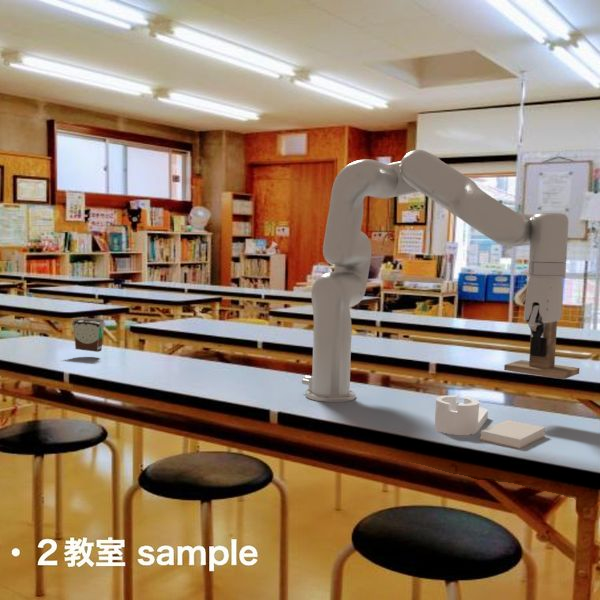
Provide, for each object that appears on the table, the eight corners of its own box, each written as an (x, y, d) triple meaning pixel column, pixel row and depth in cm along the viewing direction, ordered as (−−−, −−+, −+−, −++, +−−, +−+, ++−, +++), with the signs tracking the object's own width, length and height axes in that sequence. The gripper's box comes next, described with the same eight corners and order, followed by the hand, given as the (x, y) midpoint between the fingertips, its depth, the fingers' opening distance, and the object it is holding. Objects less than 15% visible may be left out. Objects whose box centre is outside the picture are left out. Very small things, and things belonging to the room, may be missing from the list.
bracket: (473, 440, 135) (474, 407, 134) (430, 434, 138) (431, 402, 138) (489, 417, 153) (491, 388, 152) (450, 412, 156) (452, 384, 156)
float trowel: (563, 379, 140) (567, 325, 139) (504, 370, 148) (506, 319, 147) (579, 373, 147) (582, 322, 146) (521, 365, 155) (524, 316, 154)
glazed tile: (506, 429, 141) (480, 440, 132) (507, 419, 141) (480, 430, 132) (544, 437, 136) (519, 450, 127) (545, 427, 136) (520, 439, 127)
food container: (113, 349, 226) (113, 320, 226) (100, 352, 221) (101, 321, 220) (85, 346, 232) (85, 317, 231) (72, 348, 226) (72, 319, 225)
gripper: (544, 269, 154) (540, 348, 156) (513, 270, 142) (509, 356, 143) (578, 270, 149) (573, 352, 151) (549, 272, 137) (544, 361, 138)
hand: (542, 353), depth 147 cm, fingers closed on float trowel, 4 cm apart
